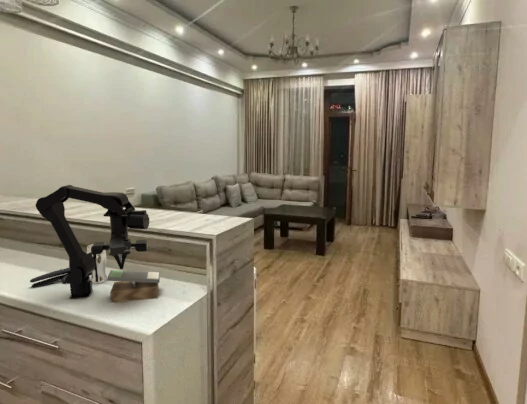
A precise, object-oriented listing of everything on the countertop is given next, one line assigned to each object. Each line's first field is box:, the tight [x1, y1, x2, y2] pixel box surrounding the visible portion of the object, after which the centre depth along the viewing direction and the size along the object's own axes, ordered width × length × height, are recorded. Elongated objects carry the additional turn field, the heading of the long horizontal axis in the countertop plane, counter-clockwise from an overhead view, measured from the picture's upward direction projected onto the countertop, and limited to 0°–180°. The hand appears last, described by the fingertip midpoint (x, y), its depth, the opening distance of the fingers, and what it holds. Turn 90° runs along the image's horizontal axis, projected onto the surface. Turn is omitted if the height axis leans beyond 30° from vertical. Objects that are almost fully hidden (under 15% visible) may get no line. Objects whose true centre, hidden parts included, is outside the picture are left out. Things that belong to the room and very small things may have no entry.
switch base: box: [110, 281, 159, 303], centre depth 133 cm, size 16×9×6 cm, turn 104°
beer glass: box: [86, 243, 108, 285], centre depth 145 cm, size 7×7×15 cm
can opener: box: [29, 267, 71, 289], centre depth 144 cm, size 18×7×6 cm, turn 121°
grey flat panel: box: [106, 269, 161, 284], centre depth 133 cm, size 18×7×2 cm, turn 105°
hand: (121, 268), depth 131 cm, fingers closed
